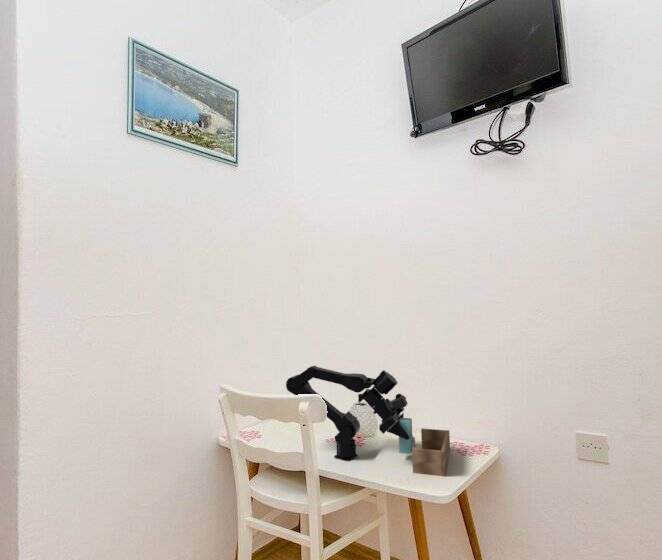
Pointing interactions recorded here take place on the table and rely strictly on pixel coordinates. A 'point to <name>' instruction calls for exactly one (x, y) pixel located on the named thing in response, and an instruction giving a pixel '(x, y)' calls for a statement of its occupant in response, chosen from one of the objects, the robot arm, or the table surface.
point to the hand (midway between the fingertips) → (409, 437)
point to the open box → (432, 453)
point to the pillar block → (406, 424)
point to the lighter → (413, 441)
